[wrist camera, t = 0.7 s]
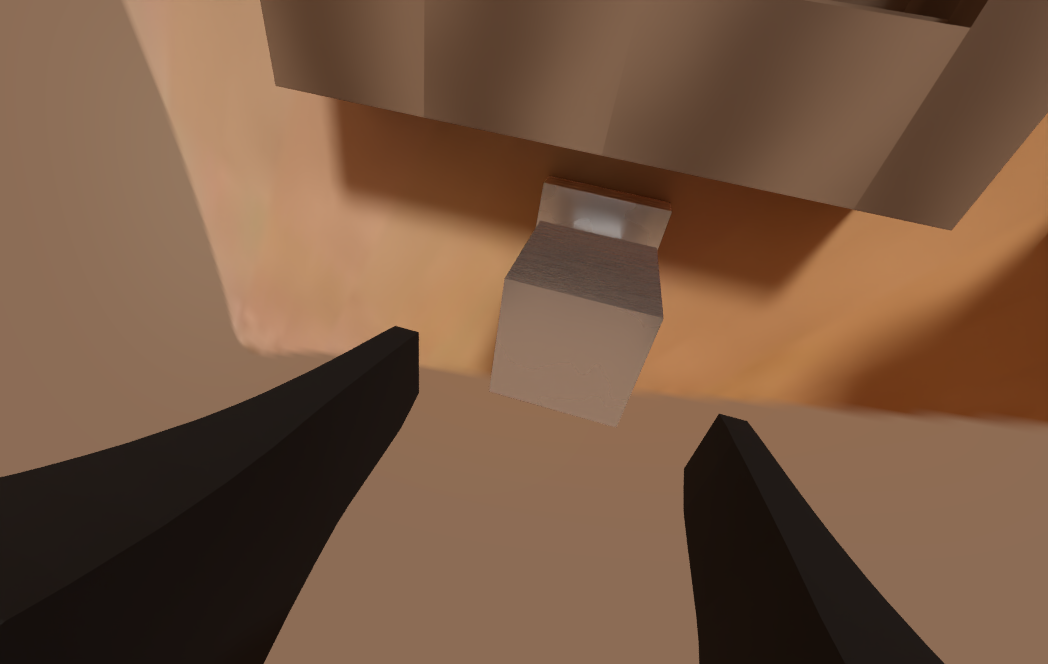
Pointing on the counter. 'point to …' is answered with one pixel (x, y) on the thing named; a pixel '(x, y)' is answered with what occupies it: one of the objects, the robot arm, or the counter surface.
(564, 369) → the keyed peg
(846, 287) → the counter surface
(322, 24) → the keyhole plate
